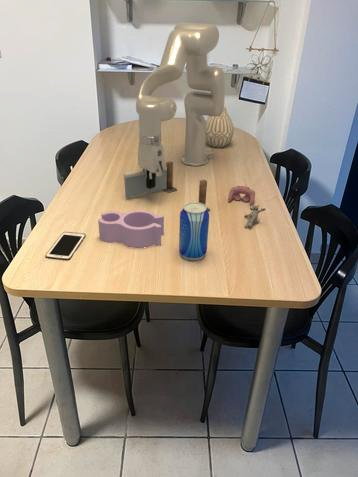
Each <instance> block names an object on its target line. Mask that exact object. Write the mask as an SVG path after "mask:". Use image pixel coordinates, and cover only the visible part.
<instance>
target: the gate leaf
mask: <svg viewBox="0 0 358 477" xmlns="http://www.w3.org/2000/svg"><path fill="white" fill-rule="evenodd" d="M161 172H162V176H159V177H158V176H157V177H156V186H155V187H154V188H151V189H149V188H147V187H146V178H147V177H145V173H144V171H143V170H142V169H139V170H132V171H127V172H123V180H124V181H123V182H124V197H125V198H126V199H128V198H133V197H136V196H137V197H138V196H140V195H146V194H149V193H153V192H159V191H164V190H163V189H167V166H166V165H165V170H163V171H162V170H161Z"/></svg>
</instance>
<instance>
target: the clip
mask: <svg viewBox="0 0 358 477" xmlns="http://www.w3.org/2000/svg"><path fill="white" fill-rule="evenodd" d="M100 216H101V218H98V219H97V222H98V223H97V224H98V234H99V239H100V240H101V241H103V242H105V243H120V244H123V245H124V246H126V247H128V248H131V247H132V248H133V249H144V247H146V248H150V247H152V246H157V245H158V246H157V247H160V246H161V245H162V236H164V235H165V231H164V230H165V216H164V214H160V215H158V214H156V213H155V212H153V211H149V210H144V209H136V210H131V211H127V212H120V211H115V210H113V211H112V210H108V211H105V212H101V215H100ZM163 234H164V235H163ZM154 244H155V245H154ZM159 245H160V246H159ZM149 246H150V247H149Z"/></svg>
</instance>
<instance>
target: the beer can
mask: <svg viewBox="0 0 358 477" xmlns="http://www.w3.org/2000/svg"><path fill="white" fill-rule="evenodd" d="M207 208H208V207H207V206H206V205H204V204H202V203H199V201H198V202H197V201H191V202H187V203H185V204H184V205H183V208H182V209H181V211H180V212H179V213H180V214H179V233H178V234H179V237H178V252H179V254H180V255H181V257H182V258H183V259H185V260H187V261H199V260H201V259H203V258H204V256H206V255H207V253H208V252H207V251H208V240H209V239H208V238H209V226H210V225H209V224H210V212H208V211H207Z"/></svg>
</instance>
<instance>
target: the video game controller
mask: <svg viewBox="0 0 358 477" xmlns="http://www.w3.org/2000/svg"><path fill="white" fill-rule="evenodd" d="M241 195H244V196H243V197H242V196H241ZM255 197H256V192H255V190H253V188H250V187H249V186H246V185H245V186H244V185H234V186H233V187H232V188H230V191H229V193H228V198H227V202H228V203H231V202H232V201H233V198H234V200H235V201H240V200H241V199H242V201H243V202H244V203H245V202H246V203H248V202H249V207H251V205H253V206H254V202H255Z"/></svg>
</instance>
